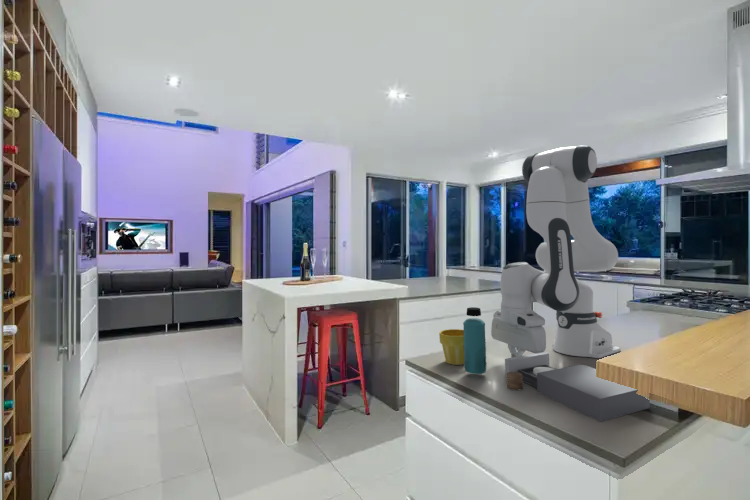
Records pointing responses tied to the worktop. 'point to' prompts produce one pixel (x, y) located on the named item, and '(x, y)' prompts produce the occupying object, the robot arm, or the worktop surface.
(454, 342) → the plant pot
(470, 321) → the beverage bottle
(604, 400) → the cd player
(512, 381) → the disc stand
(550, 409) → the worktop surface
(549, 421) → the worktop surface
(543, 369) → the disc
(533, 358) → the tray
